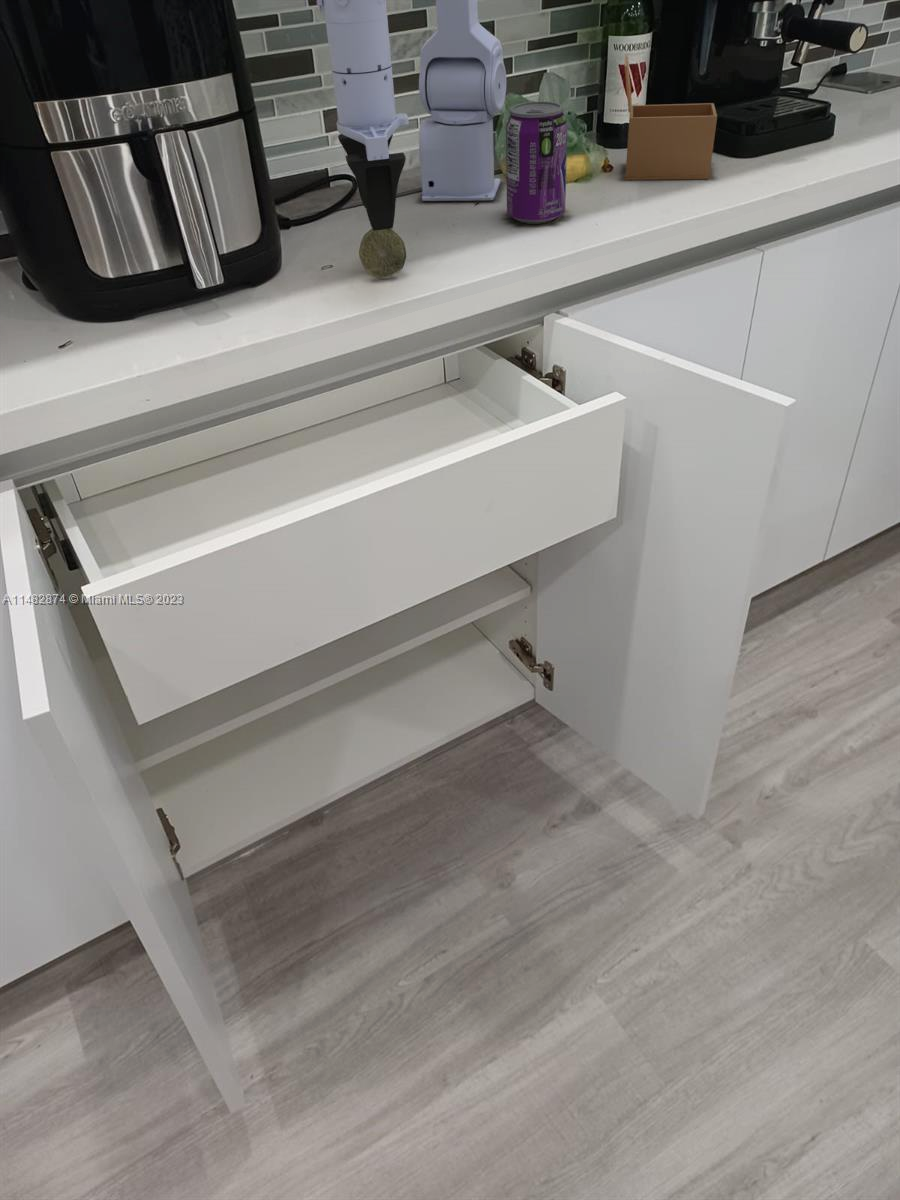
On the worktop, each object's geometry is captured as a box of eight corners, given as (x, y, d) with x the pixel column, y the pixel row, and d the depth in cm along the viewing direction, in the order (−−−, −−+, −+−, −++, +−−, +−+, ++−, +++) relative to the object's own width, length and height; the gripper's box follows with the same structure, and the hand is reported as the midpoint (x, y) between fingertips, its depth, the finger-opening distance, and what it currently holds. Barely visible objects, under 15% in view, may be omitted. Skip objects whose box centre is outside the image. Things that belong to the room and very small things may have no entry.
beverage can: (561, 227, 103) (564, 114, 95) (502, 226, 105) (500, 115, 97) (567, 207, 108) (571, 99, 101) (511, 207, 110) (510, 100, 102)
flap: (631, 112, 110) (628, 112, 110) (631, 99, 115) (629, 100, 115) (627, 65, 107) (624, 66, 107) (627, 54, 112) (625, 55, 112)
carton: (625, 180, 116) (629, 118, 111) (626, 165, 121) (630, 105, 116) (709, 179, 114) (717, 116, 109) (706, 164, 119) (713, 103, 114)
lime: (414, 273, 95) (409, 226, 92) (379, 286, 93) (373, 238, 90) (388, 263, 98) (384, 217, 95) (354, 276, 96) (348, 229, 92)
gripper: (415, 78, 77) (426, 234, 86) (393, 50, 88) (405, 192, 97) (336, 86, 77) (356, 243, 86) (323, 57, 88) (342, 199, 96)
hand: (377, 216), depth 91 cm, fingers open, 7 cm apart
